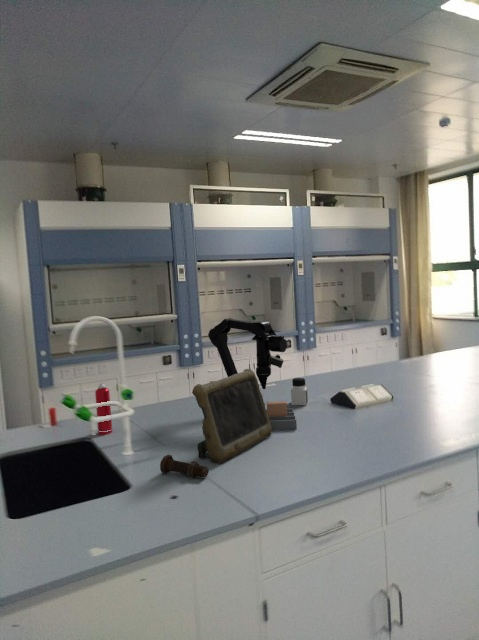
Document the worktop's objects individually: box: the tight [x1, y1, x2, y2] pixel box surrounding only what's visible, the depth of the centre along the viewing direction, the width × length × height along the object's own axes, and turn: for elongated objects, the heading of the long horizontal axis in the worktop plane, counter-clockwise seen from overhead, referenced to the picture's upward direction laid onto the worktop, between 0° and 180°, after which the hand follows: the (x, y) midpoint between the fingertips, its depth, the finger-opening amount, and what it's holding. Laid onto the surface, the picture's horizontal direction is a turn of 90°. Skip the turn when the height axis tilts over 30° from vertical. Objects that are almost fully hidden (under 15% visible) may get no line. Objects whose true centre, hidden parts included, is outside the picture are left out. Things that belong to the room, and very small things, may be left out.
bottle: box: [94, 383, 113, 436], centre depth 181 cm, size 6×5×20 cm
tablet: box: [191, 368, 273, 465], centre depth 156 cm, size 33×14×25 cm, turn 149°
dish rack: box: [266, 408, 298, 431], centre depth 181 cm, size 14×17×4 cm
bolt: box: [159, 454, 210, 479], centre depth 135 cm, size 6×5×15 cm
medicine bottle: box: [290, 377, 309, 406], centre depth 210 cm, size 7×7×12 cm
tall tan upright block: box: [266, 400, 288, 417], centre depth 180 cm, size 8×3×8 cm, turn 88°
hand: (264, 386), depth 193 cm, fingers open, 9 cm apart
